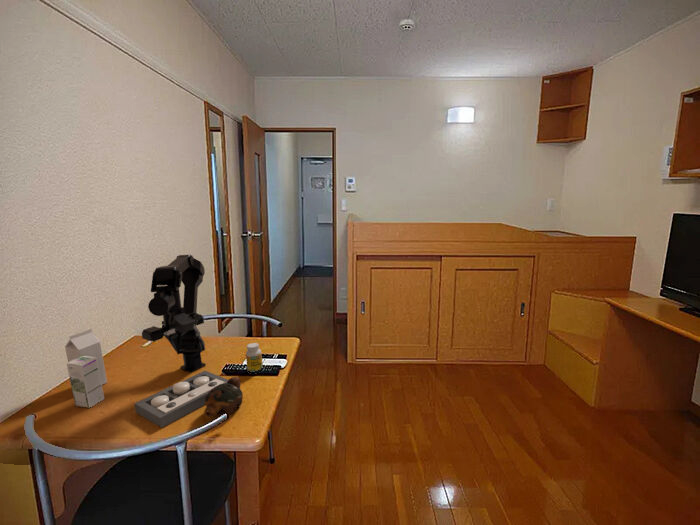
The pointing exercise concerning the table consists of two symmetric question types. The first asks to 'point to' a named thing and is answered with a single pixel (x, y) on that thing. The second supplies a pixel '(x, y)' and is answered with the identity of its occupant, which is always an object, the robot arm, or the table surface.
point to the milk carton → (86, 349)
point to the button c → (201, 381)
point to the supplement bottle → (253, 357)
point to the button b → (181, 388)
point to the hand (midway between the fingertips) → (177, 351)
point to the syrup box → (85, 381)
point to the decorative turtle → (224, 397)
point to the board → (178, 401)
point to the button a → (159, 401)
